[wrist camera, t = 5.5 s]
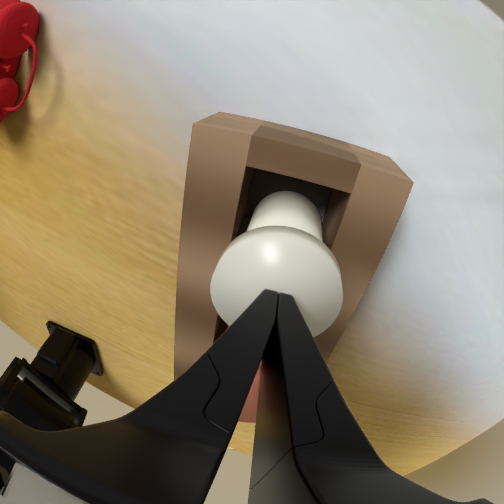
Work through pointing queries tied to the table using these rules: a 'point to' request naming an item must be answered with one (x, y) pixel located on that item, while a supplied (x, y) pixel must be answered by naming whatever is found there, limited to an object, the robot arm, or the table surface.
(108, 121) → the table surface
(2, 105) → the alarm clock
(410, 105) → the table surface
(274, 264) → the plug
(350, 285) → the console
